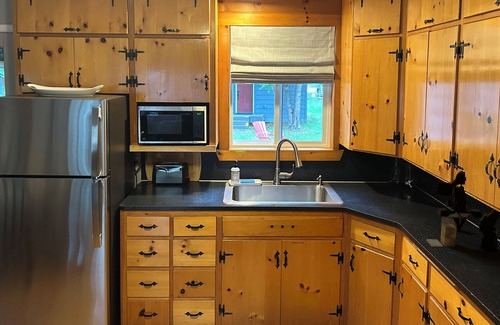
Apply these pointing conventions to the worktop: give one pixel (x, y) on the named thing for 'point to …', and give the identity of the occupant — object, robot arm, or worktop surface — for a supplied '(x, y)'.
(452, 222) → the medicine box
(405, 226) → the worktop surface
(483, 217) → the robot arm
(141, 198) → the worktop surface
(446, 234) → the wooden block
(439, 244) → the mat
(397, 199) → the worktop surface
